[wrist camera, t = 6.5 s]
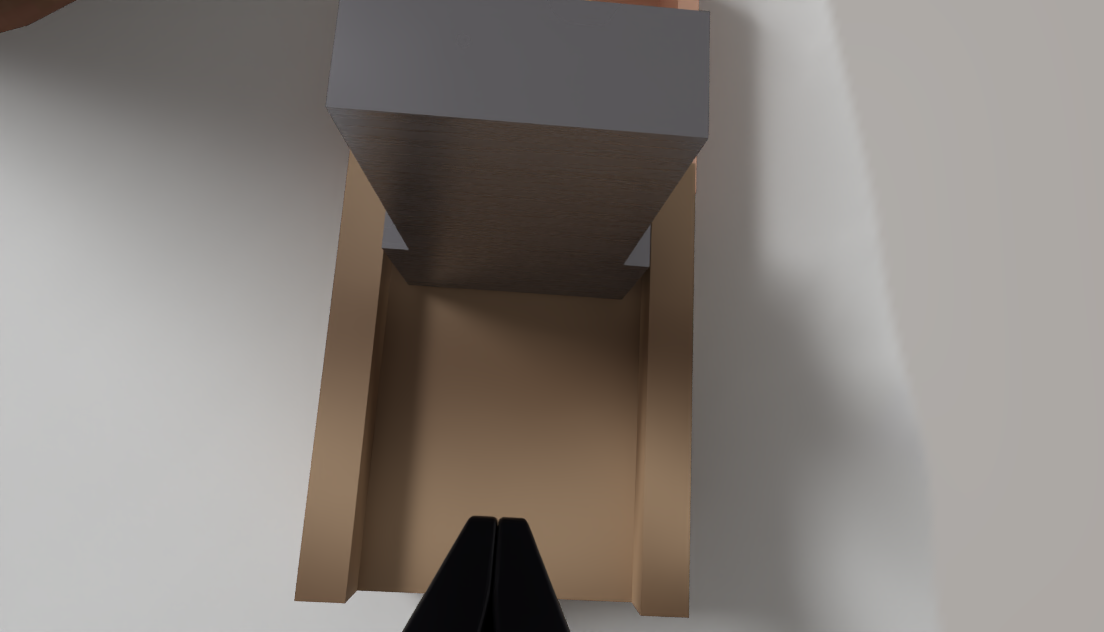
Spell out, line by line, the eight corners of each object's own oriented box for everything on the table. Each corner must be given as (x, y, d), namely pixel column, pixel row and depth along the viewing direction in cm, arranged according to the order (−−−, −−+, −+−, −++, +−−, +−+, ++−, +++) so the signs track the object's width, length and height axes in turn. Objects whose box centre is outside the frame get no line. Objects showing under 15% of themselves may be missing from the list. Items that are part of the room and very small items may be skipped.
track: (639, 565, 18) (688, 617, 13) (356, 552, 17) (294, 601, 12) (649, 230, 20) (695, 163, 15) (392, 211, 19) (351, 136, 14)
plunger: (621, 299, 15) (754, 142, 7) (408, 284, 14) (276, 103, 6) (627, 141, 15) (754, -174, 7) (424, 125, 15) (323, -220, 7)
